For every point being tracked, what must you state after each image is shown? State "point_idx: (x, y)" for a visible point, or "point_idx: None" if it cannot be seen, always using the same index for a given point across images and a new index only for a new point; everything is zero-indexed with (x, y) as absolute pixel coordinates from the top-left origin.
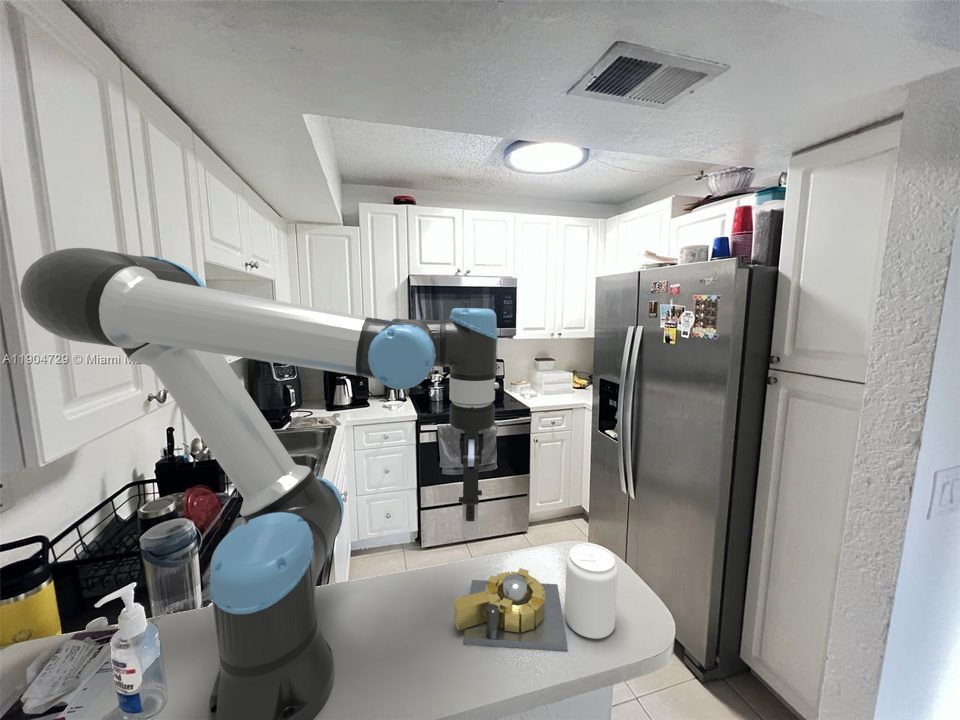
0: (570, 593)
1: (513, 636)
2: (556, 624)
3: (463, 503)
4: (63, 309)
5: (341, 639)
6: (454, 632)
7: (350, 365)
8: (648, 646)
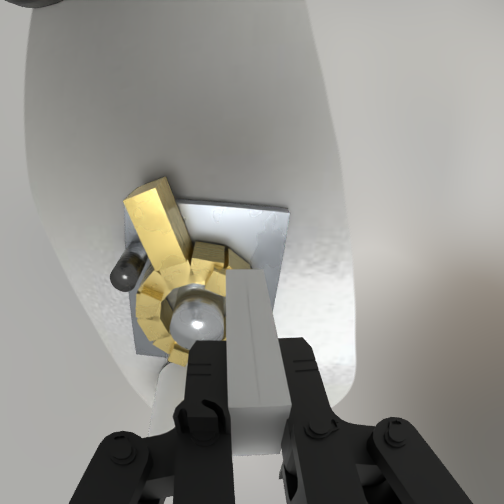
0: (169, 404)
1: (136, 286)
2: None
3: (103, 442)
4: None
5: None
6: (155, 175)
7: None
8: None
